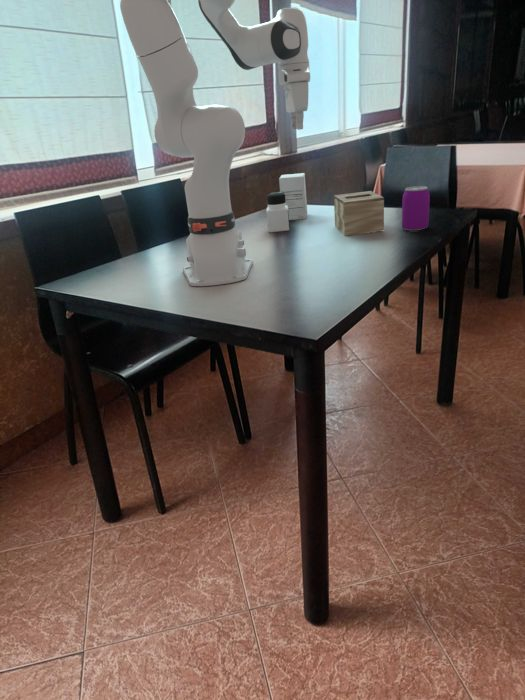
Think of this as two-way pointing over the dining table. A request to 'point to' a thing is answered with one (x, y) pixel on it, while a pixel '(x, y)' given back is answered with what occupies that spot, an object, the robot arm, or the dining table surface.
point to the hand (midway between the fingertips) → (297, 129)
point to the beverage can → (415, 208)
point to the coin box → (359, 213)
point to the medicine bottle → (277, 212)
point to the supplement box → (294, 195)
